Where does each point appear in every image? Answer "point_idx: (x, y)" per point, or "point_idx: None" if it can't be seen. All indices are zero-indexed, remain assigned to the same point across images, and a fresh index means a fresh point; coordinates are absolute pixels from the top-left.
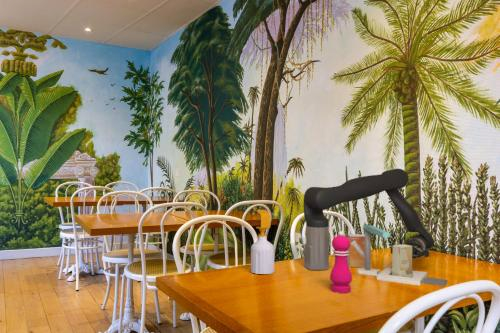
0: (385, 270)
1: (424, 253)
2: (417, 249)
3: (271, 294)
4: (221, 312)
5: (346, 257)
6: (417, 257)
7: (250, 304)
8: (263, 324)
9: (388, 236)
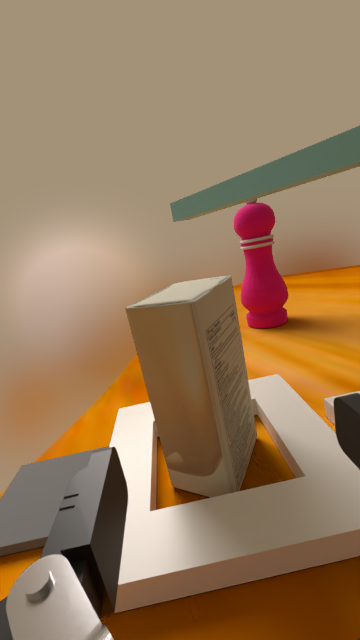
0: (326, 440)
1: (3, 616)
2: (109, 636)
3: (321, 287)
4: (292, 275)
5: (244, 254)
6: (122, 488)
7: (298, 281)
8: (241, 285)
9: (174, 217)
